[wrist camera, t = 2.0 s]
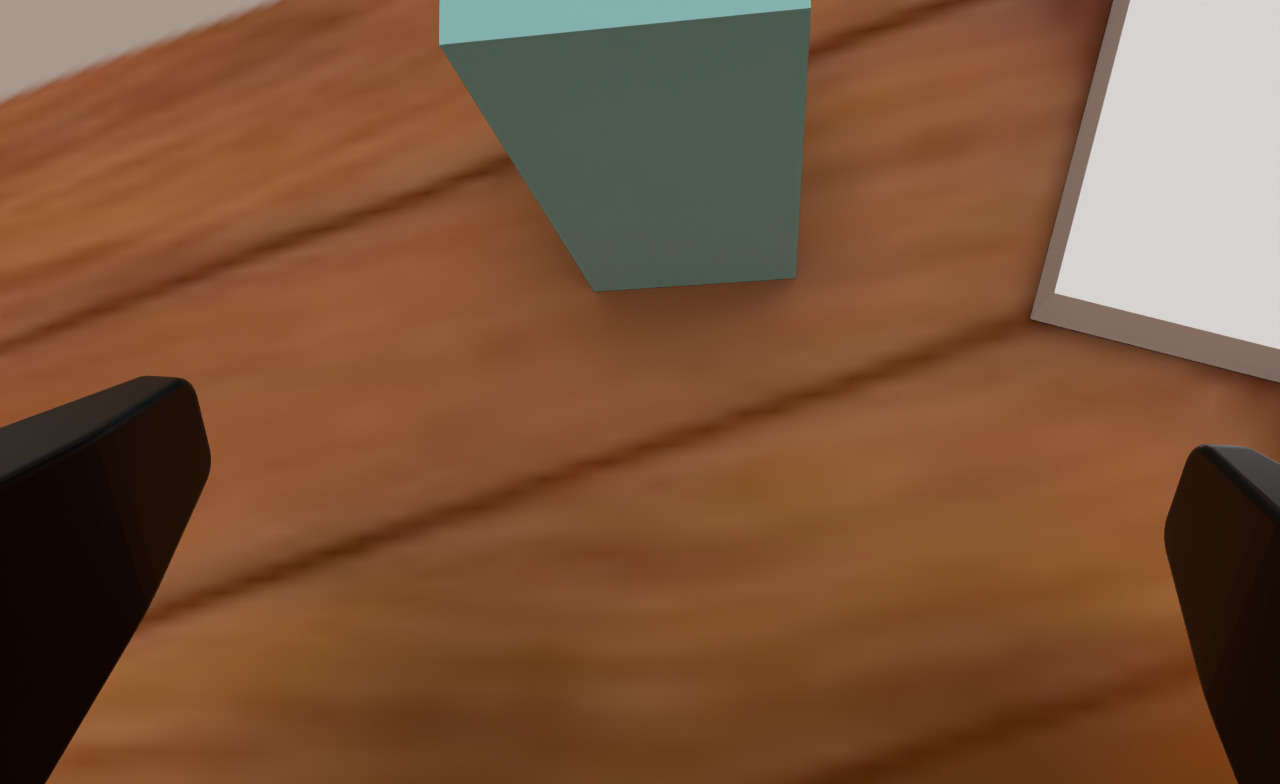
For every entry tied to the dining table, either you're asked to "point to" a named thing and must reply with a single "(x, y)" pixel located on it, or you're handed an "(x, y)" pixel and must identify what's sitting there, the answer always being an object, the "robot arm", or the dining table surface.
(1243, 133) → the base slab
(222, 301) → the dining table surface
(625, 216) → the teal block
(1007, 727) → the dining table surface
